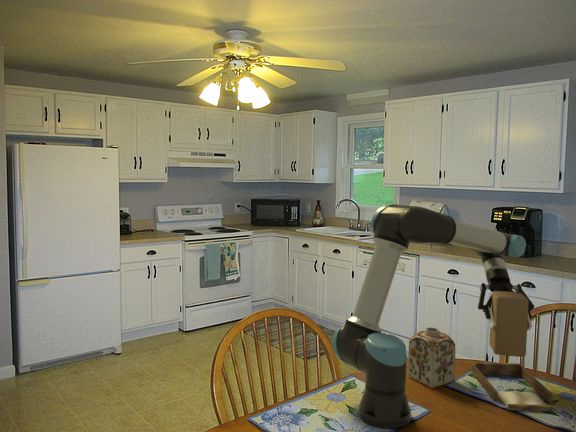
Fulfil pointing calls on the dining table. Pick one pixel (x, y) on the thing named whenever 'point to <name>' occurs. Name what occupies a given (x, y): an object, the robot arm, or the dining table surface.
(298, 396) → the dining table surface
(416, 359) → the decorative jar
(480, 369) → the bay
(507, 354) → the wooden block
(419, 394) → the dining table surface
